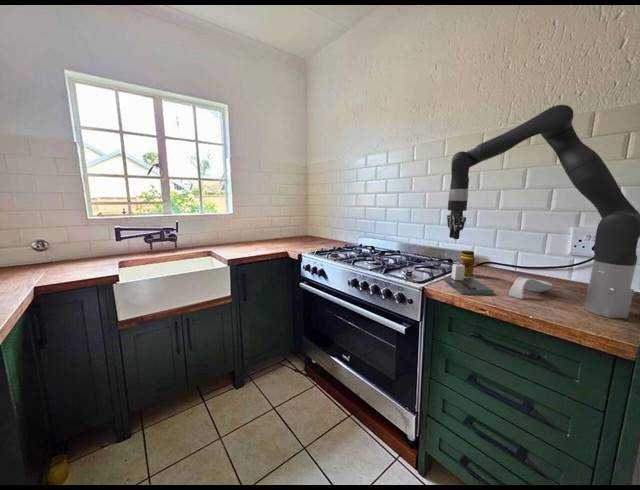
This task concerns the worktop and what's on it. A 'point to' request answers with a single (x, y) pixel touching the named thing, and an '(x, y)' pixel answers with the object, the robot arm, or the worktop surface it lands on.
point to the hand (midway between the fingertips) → (454, 238)
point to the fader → (458, 272)
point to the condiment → (467, 263)
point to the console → (469, 286)
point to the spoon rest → (528, 286)
